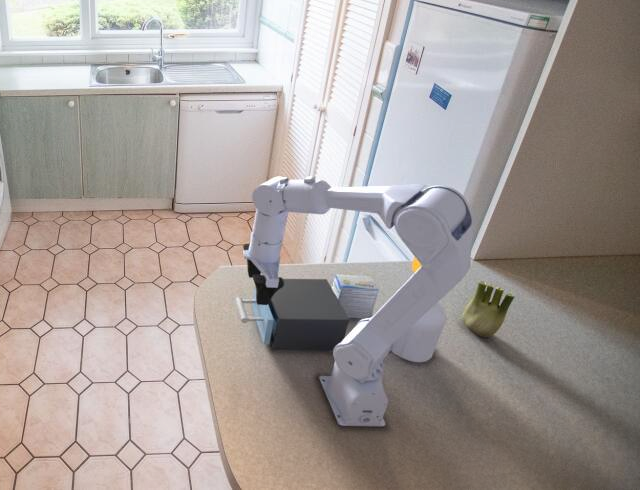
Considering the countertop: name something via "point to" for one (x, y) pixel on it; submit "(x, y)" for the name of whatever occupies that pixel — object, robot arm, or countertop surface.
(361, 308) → the medicine box
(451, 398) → the countertop surface
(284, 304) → the dark grey drawer cabinet
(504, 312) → the fennel bulb
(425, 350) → the soap bottle
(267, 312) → the blue drawer
